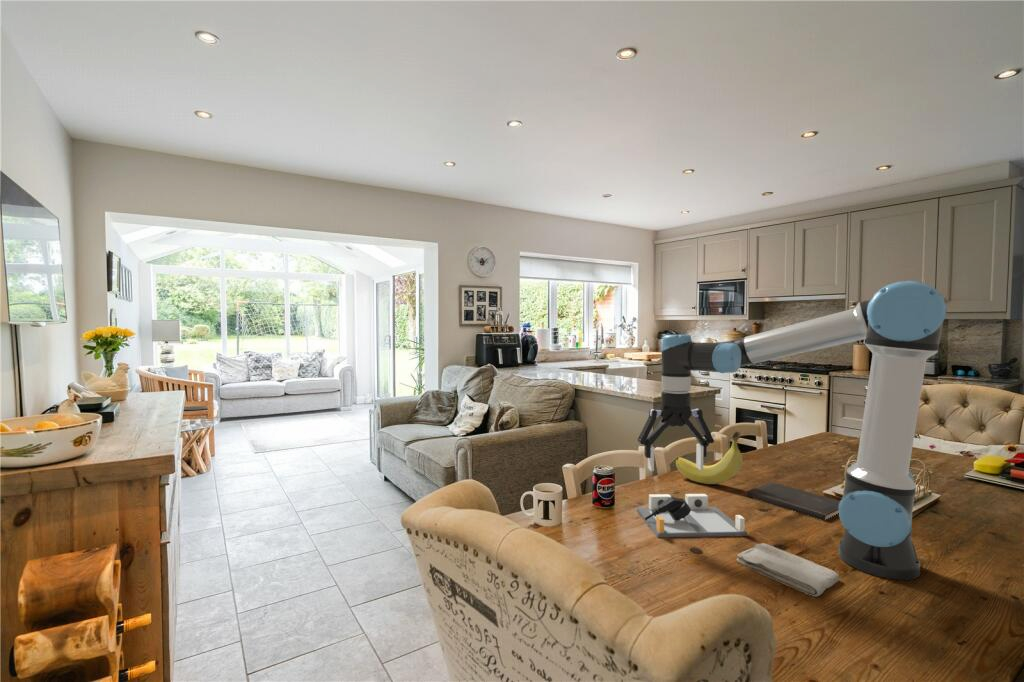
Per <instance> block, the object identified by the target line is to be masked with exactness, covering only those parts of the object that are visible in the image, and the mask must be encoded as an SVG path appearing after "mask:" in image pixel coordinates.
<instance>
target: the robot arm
mask: <svg viewBox="0 0 1024 682" xmlns="http://www.w3.org/2000/svg"><path fill="white" fill-rule="evenodd" d="M946 314H947V303H946V301H945V298H944V297H943V295H942V294H941V293H940V292H939V290H938V289H936V288H935V287H933V286H931V285H930V284H929V283H928V284H927V283H924V282H922V281H914V280H905V281H896V282H893V283H890V284H887V285H885V286H883V287H882V288H880V289H879V290H877V292H875V293H874V295H873V296H872V297H871V298H870V299H868V300H864V301H860V302H858V303H857V305H856V306H855V307H853V308H851V309H846V310H844V311H839V312H836V313H831V314H828V315H824V316H821V317H817V318H812V319H808V320H805V321H801V322H797V323H794V324H790V325H787V326H783V327H777V328H774V329H771V330H766V331H763V332H759V333H754V334H751V335H747V336H744V337H739V338H735V339H731V340H727V341H719V342H718V341H716V342H695V341H693V340H692V336H691V335H690V334H665V335H664V336H663V337H662V340H661V341H662V342H661V350H660V352H661V390H662V392H661V393H660V394H661V401H660V402H661V403H660V404H661V407H660V409H654V408H650V409H649V412H648V417H647V419H646V421H645V424H644V426H643V427H642V430H641V432H640V433H639V436H638V438H637V442H638V443H639V444H640V445H643V446H644V457H645V458H646V459H647V469H648V470H649V471H650V472H654V470H655V447H654V445H653V444H654V443H655V441H656V440H657V439H658V438H659V437H660V435H661V434H662V433H663V432H664V431H665V429H667V428H668V427H669V426H670V427H683V426H685V427H686V428H687V430H688V431H689V432H690V433H691V434H692V436H694V438H695V439H696V440H697V441H698V443H696V445H695V447H696V448H695V449H696V450H695V451H696V455H695V456H696V457H695V458H696V459H695V463H696V467H697V468H698V469H700V470H703V465H704V458H706V457H707V453H708V452H707V450H708V449H707V447H708V446H709V445H710V444H713V443H714V442H715V440H714V437H713V435H712V434H711V431H710V429H709V427H708V426H707V423H706V421H705V419H704V415H703V410H702V409H699V408H698V407H696V408H694V409H691V405H692V404H691V398H692V397H691V393H690V391H691V389H692V383H691V382H692V380H691V379H692V371H695V372H696V371H697V372H699V371H700V372H709V373H710V372H711V373H720V374H727V373H728V374H729V373H730V374H731V373H733V374H734V373H737V372H738V371H739V369H740V368H741V367H745V366H750V365H754V364H759V363H762V362H767V361H772V360H776V359H779V358H784V357H789V356H793V355H798V354H802V353H803V354H805V353H807V352H811V351H817V350H821V349H826V348H830V347H831V348H832V347H834V346H839V345H840V346H841V345H844V344H849V343H853V342H858V341H862V340H865V343H864V345H865V346H866V348H867V349H868V350H869V351H870V352H871V353H872V354H871V356H872V357H871V362H870V363H871V364H870V372H869V377H868V383H867V384H868V385H867V389H866V396H865V402H864V403H865V405H864V410H863V418H862V423H861V431H860V438H859V445H858V450H857V451H858V452H857V459H856V462H853V463H852V464H851V465H850V466H849V467H847V469H846V471H845V472H846V474H845V479H844V486H843V493H842V497H841V499H840V500H839V501H840V503H839V506H838V511H839V514H838V517H839V519H840V523H841V524H842V526H843V527H844V529H845V531H844V534H843V536H842V539H841V540H840V541H839V543H838V557H839V558H840V559H841V560H842V561H843V562H845V563H846V564H847V565H849V566H851V567H853V568H855V569H857V570H858V571H861V572H864V573H867V574H869V575H872V576H873V575H874V576H876V577H881V578H885V579H888V580H889V579H891V580H897V581H898V580H899V581H910V580H915V579H918V577H920V575H921V564H920V563H921V562H920V560H919V558H918V556H917V555H918V553H917V552H916V548H915V545H914V542H913V539H912V527H913V526H912V524H913V510H914V502H915V497H916V490H917V484H916V483H915V482H914V475H913V474H912V472H910V466H911V465H910V464H911V458H912V452H913V446H914V439H915V433H916V427H917V422H918V421H917V420H918V415H919V410H920V409H919V408H920V403H921V402H920V401H921V395H922V390H923V382H924V377H925V371H926V365H927V360H928V359H929V358H930V357H932V356H934V355H936V354H937V353H938V352H939V347H940V342H941V341H940V340H941V336H942V329H943V324H944V321H945V319H946V316H947V315H946ZM659 416H661V419H660V420H659V422H658V424H657V425H656V426H655V428H653V427H654V425H655V423H656V421H657V419H658V418H659ZM691 416H693V417H694V418H695V420H696V423H697V425H698V426H699V429H700V431H701V433H702V434H701V433H700V432H699V431H698V429H696V426H695V425H693V423H692V422H691V421H690V418H691ZM652 429H653V430H652ZM702 435H703V436H702Z"/></svg>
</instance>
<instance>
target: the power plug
mask: <svg viewBox="0 0 1024 682" xmlns="http://www.w3.org/2000/svg"><path fill="white" fill-rule="evenodd" d="M657 508H658V509H657ZM657 508H655V509H654V511H652V514H650V515H649V516H647V517H645V518H644V519H645V520H647V519H649V518H650V517H652V516H656V514H657V515H658V514H659V515H660V513H661V514H662V512H663V513H664V512H666V511H668V513H669V514H670V516H671V517H672V518H673V520H675V521H677V520H680V519H682V518H683V519H684V520H685V522H686V523H687V524H689V521H688V520H687V518H686V516H687V515H688V514H689V513H690V511H691V508H690V507H689V506H688V504H687V503H686V501H685V498H680V497H674V496H671V497H670V498H669V499H667V500H665V501H664V502H662V504H660V505H659V507H657ZM644 519H643V520H644Z"/></svg>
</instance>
